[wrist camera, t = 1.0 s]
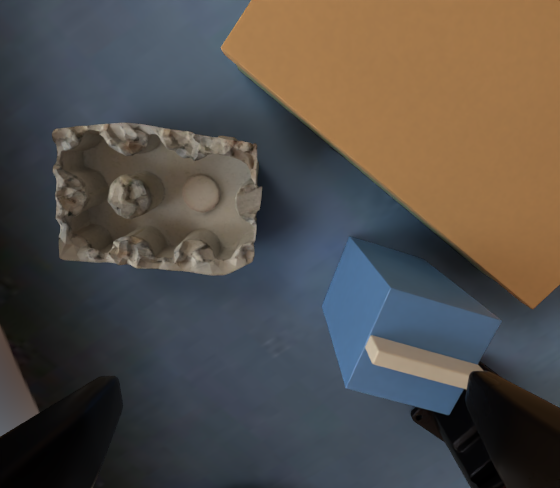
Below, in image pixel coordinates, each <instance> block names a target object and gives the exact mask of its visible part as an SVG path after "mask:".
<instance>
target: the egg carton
mask: <svg viewBox="0 0 560 488" xmlns="http://www.w3.org/2000/svg"><path fill="white" fill-rule="evenodd" d="M52 138H53V141H54V142H55V143H56V145H57V162H56V163H55V165H54V166H53V173H54V175H55V177H56V181H57V188H56V193H55V197H56V201H57V209H56V219H57V221H58V222H59V224H60V226H61V231H60V235H59V255H60V258H61V259H63V260H72V261H85V262H97V263H99V262H111V263H116V264H118V265H123V264H129V265H132V266H133V267H135V268H151V269H163V270H170V271H187V272H193V273H199V274H206V275H226V274H229V273H232V272H234V271H235V270H237V269H239V268H241V267H243V266H245V265H247V264H249V263H251V262H252V261H253V259H254V245H253V243H254V241H255V238H256V229H257V224H256V221H257V219H256V213H257V211H258V210H260V205H261V196H262V186H260V187H259V186H258V185H257V176H258V169H259V162H258V161H257V145H256V144H255V143H254V144H251V143H248V142H243V141H238V140H237V139H236V138H234V137H226V136H218V137H217V138H216V137H209V136H204V135H197V134H193V132H188V131H179V130H171V129H164V128H159V127H154V126H149V125H143V124H133V123H115V124H100V125H91V126H76V127H70V128H61V129H55V130H54V131H53V133H52Z"/></svg>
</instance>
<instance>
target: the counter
mask: <svg viewBox="0 0 560 488" xmlns="http://www.w3.org/2000/svg"><path fill="white" fill-rule="evenodd" d="M221 49H222V51H223V53H224V55H226V56H227V57H228V58H229V59H230V60H232V61H233V62H234V63H235V64H236V65H237V67H238V69H239V70H240V71H241V72H242V73H243V74H244V75H246V76H247V77H248V78H249V79H250V80H252V81H253V82H254V83H255V84H256V85H258V86H259V87H260V88H261V89H262V90H264V91H265V92H266V93H267V94H268V95H270V96H271V97H272V98H273V99H274V100H276V101H277V102H278V103H279V104H280V105H282V106H283V107H284V108H285V109H286V110H288V111H289V112H290V113H291V114H292V115H294V116H295V117H296V118H297V119H298V120H300V121H301V122H302V123H303V124H304V125H306V126H307V127H308V128H309V129H310V130H312V131H313V132H314V133H315V134H316V135H318V136H319V137H320V138H321V139H322V140H324V141H325V142H326V143H327V144H328V145H330V146H331V147H332V148H333V149H334V150H336V151H337V152H338V153H339V154H340V155H342V156H343V157H344V158H345V159H346V160H348V161H349V162H350V163H351V164H352V165H354V166H355V167H356V168H357V169H358V170H360V171H361V172H362V173H363V174H364V175H366V176H367V177H368V178H369V179H370V180H372V181H373V182H374V183H375V184H376V185H378V186H379V187H380V188H381V189H382V190H384V191H385V192H386V193H387V194H388V195H390V196H391V197H392V198H393V199H394V200H396V201H397V202H398V203H399V204H400V205H402V206H403V207H404V208H405V209H406V210H408V211H409V212H410V213H411V214H412V215H414V216H415V217H416V218H417V219H418V220H420V221H421V222H422V223H423V224H424V225H426V226H427V227H428V228H429V229H430V230H432V231H433V232H434V233H435V234H436V235H438V236H439V237H440V238H441V239H442V240H444V241H445V242H446V243H447V244H448V245H450V246H451V247H452V248H453V249H454V250H456V251H457V252H458V253H459V254H460V255H462V256H463V257H464V258H465V259H466V260H468V261H469V262H470V263H471V264H472V265H474V266H475V267H476V268H477V269H478V270H480V271H481V272H482V273H483V274H485V275H486V276H488V277H490V278H491V279H493V280H494V281H496V282H497V283H498V284H500V285H501V286H502V287H503V288H504V289H506V290H507V291H508V292H509V293H510V294H512V295H513V296H514V297H515V298H516V299H518V300H519V301H520V302H522V303H523V304H525V305H526V306H528V307H529V308H531V309H534V308H535V307H536V306H537V305H538V304H539V303H540V302H541V301H542V300H544V299H545V298H546V297H547V296H548V295H549V294H550V293H551V292H552V291H553V290H554V289H555V288H556V287H558V286H559V285H560V0H251V2H250V3H249V5H248V6H247V8H246V9H245V11H244V12H243V14H242V16H241V17H240V19H239V20H238V22H237V23H236V25H235V26H234V28H233V30H232V31H231V33H230V34H229V36H228V37H227V39H226V40H225V42H224V43H223V45H222V47H221Z"/></svg>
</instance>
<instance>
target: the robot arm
mask: <svg viewBox="0 0 560 488" xmlns="http://www.w3.org/2000/svg"><path fill="white" fill-rule="evenodd" d="M478 365H479V366H480V367H481V368H482V370H483V371H472V372H471V373H470V374H469V378H468V384H467V390H466V389H464V390H463V391H462V393H461V395H460V397H459V399H458V400H457V402H456V404H455V406H454V407H453V409H452V411H451V413H450V415H446V414H443V413H439V412H435V411H431V410H427V409H423V408H419V407H415V408H414V409H413V410H412V411H411V417H412V419H413V421H414V422H416V423H417V424H419V425H420V426H422V427H423V428H425V429H426V430H428V431H429V432H431V433H432V434H434V435H435V436H437V437H438V438H439V439H441V440H442V441H444V442H445V443H446V445H447V447H448V448H449V450H450V452H451V454H452V456H453V457H454V459H455V461H456V463H457V464H458V466H459V468H460V470H461V471H462V473H463V475H464V477H465V478H466V480H467V482H468V484H469V485H470V487H471V488H560V408H559V407H557V406H555V405H553V404H552V403H550V402H548V401H546V400H544V399H542V398H540V397H538V396H536V395H534V394H532V393H530V392H528V391H526V390H524V389H522V388H521V387H519V386H517V385H515V384H513V383H511V382H509V381H507V380H505V379H503V378H502V377H500V376H499V375H498V374H496V373H495V372H494V371H492V370H491V369H490V368H488V367H487V366H486V365H484V364H483V363H482V362H480V361H479V363H478ZM122 408H123V401H122V395H121V389H120V383H119V379H118V378H117V377H116V376H100V377H98V378H96V379H95V380H93V381H91V382H90V383H88V384H86V385H85V386H83V387H81V388H80V389H78V390H77V391H75V392H73V393H72V394H70V395H68V396H67V397H65V398H63V399H62V400H60V401H58V402H57V403H55V404H53V405H52V406H50V407H49V408H47V409H45V410H44V411H42V412H40V413H39V414H37V415H35V416H34V417H32V418H30V419H29V420H27V421H26V422H24V423H22V424H20V425H19V426H17V427H16V428H14V429H12V430H11V431H9V432H7V433H6V434H4V435H2V436H1V437H0V488H93V485H94V483H95V481H96V479H97V477H98V474H99V472H100V469H101V467H102V464H103V462H104V459H105V456H106V453H107V451H108V448H109V445H110V443H111V440H112V437H113V434H114V432H115V429H116V426H117V424H118V421H119V418H120V415H121V412H122ZM417 415H419V416H417Z"/></svg>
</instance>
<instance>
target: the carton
mask: <svg viewBox="0 0 560 488" xmlns="http://www.w3.org/2000/svg"><path fill="white" fill-rule="evenodd" d="M322 308H323V312H324V315H325V318H326V322H327V325H328V329H329V332H330V336H331V339H332V342H333V346H334V349H335V353H336V356H337V360H338V363H339V366H340V370H341V373H342V377H343V380H344V383H345V387H346V388H347V389H350V390H354V391H358V392H362V393H365V394H369V395H373V396H377V397H381V398H385V399H389V400H392V401H396V402H400V403H404V404H408V405H412V406H416V407H419V408H423V409H427V410H431V411H435V412H439V413H443V414H446V415H450V413H451V411H452V409H453V407H454V406H455V404H456V402H457V400H458V399H459V397H460V395H461V393H462V391H463V390H464V389H466V390H467V384H468V378H469V374H470V373H471V372H472V371H483V370H482V368H481V367H480V366H479V365H478V363H479V361H480V360H481V358H482V356H483V354H484V352H485V351H486V349H487V347H488V345H489V344H490V342H491V340H492V338H493V336H494V335H495V333H496V331H497V329H498V328H499V326H500V324H501V322H502V320H501V319H499V318H498V317H497V316H495V315H494V314H493V313H492V312H490V311H489V310H488V309H487V308H485V307H484V306H483V305H481V304H480V303H479V302H478V301H476V300H475V299H474V298H473V297H471V296H470V295H469V294H467V293H466V292H465V291H464V290H462V289H461V288H460V287H459V286H457V285H456V284H455V283H453V282H452V281H451V280H450V279H448V278H447V277H446V276H444V275H443V274H442V273H441V272H439V271H438V270H437V269H436V268H434V267H433V266H432V265H430V264H429V263H428V262H427V261H425V260H424V259H422V258H419V257H416V256H413V255H409V254H406V253H403V252H400V251H396V250H393V249H390V248H387V247H383V246H380V245H377V244H374V243H371V242H367V241H364V240H361V239H358V238H354V237H351V236H349V238H348V241H347V243H346V246H345V248H344V251H343V254H342V256H341V259H340V261H339V264H338V266H337V269H336V272H335V274H334V277H333V279H332V282H331V284H330V287H329V289H328V292H327V295H326V297H325V300H324V302H323V305H322Z"/></svg>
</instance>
